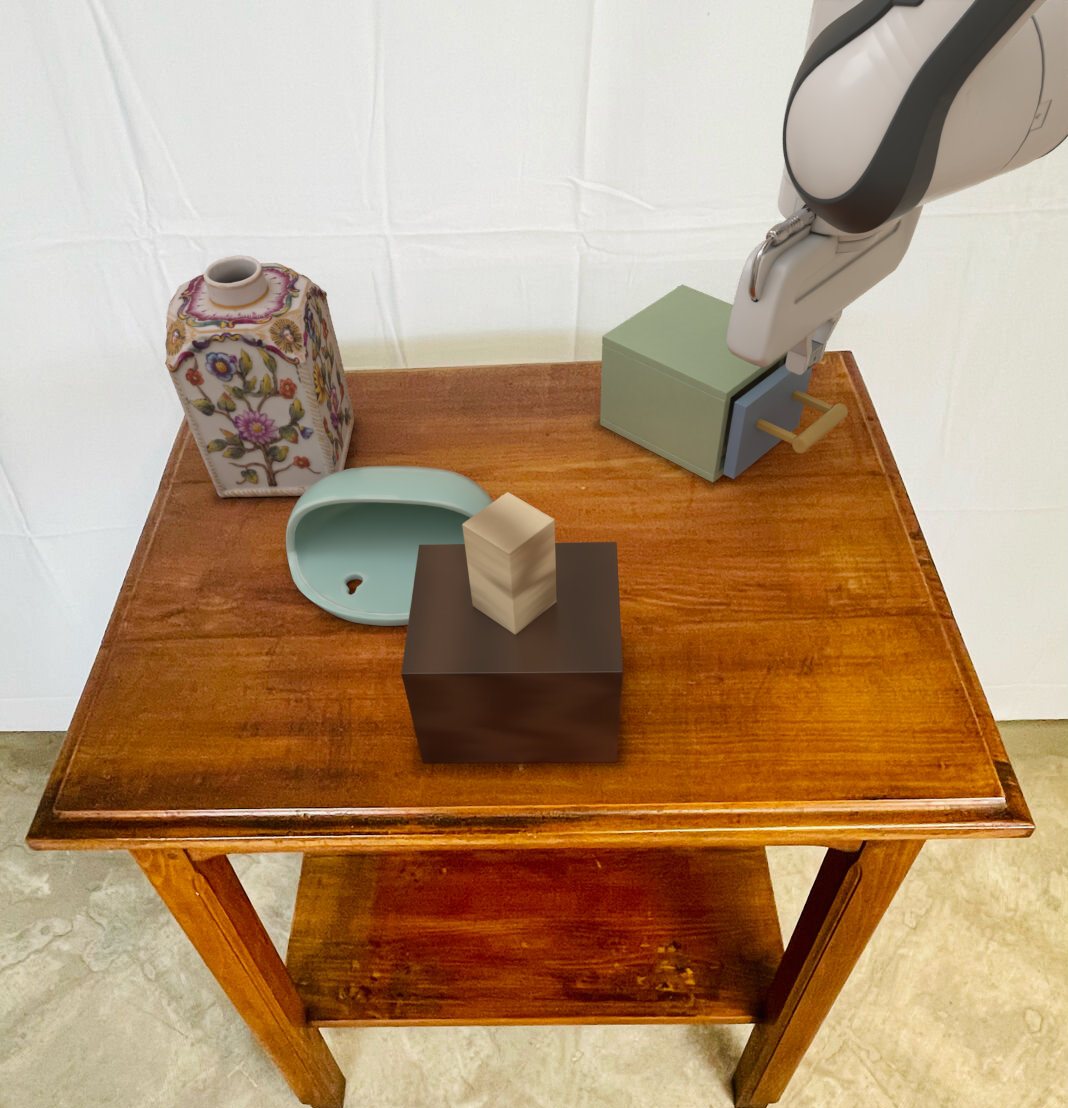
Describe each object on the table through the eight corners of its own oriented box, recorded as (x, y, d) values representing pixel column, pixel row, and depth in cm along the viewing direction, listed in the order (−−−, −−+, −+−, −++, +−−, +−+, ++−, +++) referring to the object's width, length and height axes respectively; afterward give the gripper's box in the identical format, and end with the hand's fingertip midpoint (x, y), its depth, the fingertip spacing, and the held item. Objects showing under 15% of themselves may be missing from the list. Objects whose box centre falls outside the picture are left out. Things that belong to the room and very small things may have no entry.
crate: (611, 638, 71) (616, 541, 63) (616, 762, 64) (623, 671, 56) (436, 640, 72) (418, 544, 64) (422, 763, 65) (400, 673, 57)
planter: (513, 428, 76) (492, 562, 66) (517, 498, 82) (498, 630, 72) (294, 424, 77) (243, 554, 68) (314, 493, 83) (270, 622, 74)
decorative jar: (358, 421, 89) (315, 231, 75) (342, 497, 82) (292, 305, 68) (239, 424, 90) (174, 236, 75) (214, 500, 83) (136, 309, 68)
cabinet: (785, 424, 86) (805, 334, 79) (712, 483, 82) (726, 393, 74) (673, 372, 92) (682, 284, 85) (599, 425, 88) (602, 335, 80)
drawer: (847, 448, 83) (868, 375, 77) (782, 504, 78) (799, 431, 72) (692, 377, 90) (701, 305, 84) (626, 425, 86) (630, 353, 80)
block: (513, 574, 62) (507, 491, 56) (556, 601, 60) (555, 519, 54) (472, 606, 60) (461, 523, 54) (515, 635, 58) (509, 553, 53)
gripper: (800, 253, 57) (762, 439, 69) (957, 146, 66) (900, 327, 77) (720, 223, 60) (696, 407, 71) (880, 124, 68) (836, 303, 80)
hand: (803, 365), depth 74 cm, fingers closed
